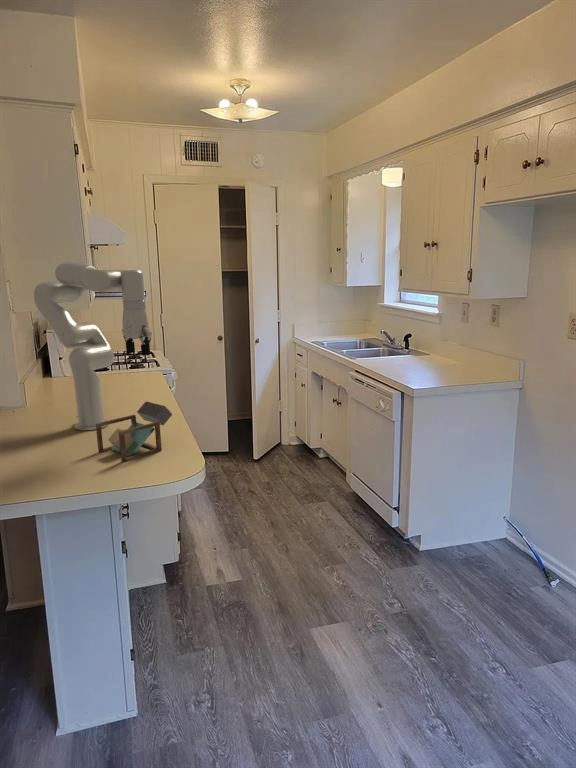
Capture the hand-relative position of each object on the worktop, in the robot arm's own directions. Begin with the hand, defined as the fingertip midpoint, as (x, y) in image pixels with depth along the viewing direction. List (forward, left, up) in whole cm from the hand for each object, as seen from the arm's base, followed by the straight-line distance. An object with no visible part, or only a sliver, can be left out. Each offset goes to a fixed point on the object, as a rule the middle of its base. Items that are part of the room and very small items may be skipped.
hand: (138, 354), depth 198 cm
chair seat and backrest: (+12, -8, -26) cm, 29 cm away
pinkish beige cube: (+12, -15, -28) cm, 34 cm away
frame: (+12, -13, -30) cm, 35 cm away
